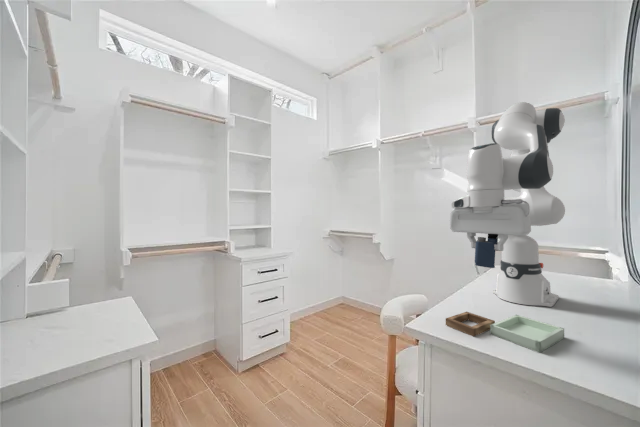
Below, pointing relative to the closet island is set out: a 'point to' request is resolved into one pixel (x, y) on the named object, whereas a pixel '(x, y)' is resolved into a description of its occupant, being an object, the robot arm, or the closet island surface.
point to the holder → (470, 330)
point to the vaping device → (486, 251)
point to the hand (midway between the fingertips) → (486, 249)
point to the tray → (527, 332)
